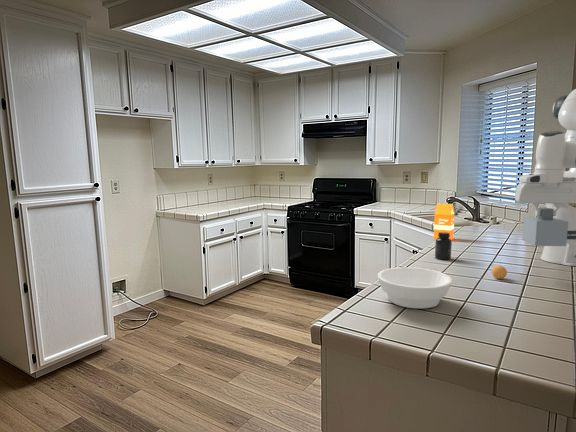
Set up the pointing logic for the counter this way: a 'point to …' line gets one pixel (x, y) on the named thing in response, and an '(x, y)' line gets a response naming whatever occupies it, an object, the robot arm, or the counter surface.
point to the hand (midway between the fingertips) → (545, 215)
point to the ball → (499, 272)
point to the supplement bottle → (443, 246)
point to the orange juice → (444, 220)
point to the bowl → (414, 286)
